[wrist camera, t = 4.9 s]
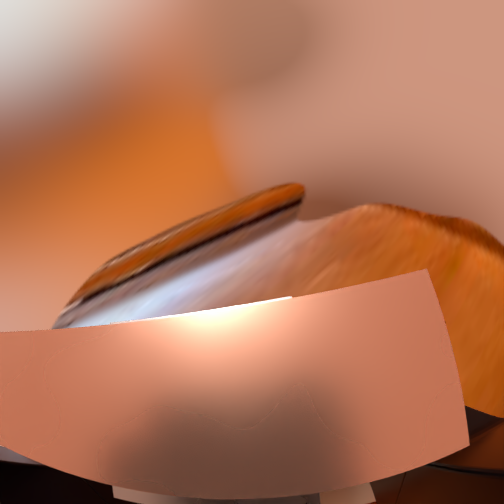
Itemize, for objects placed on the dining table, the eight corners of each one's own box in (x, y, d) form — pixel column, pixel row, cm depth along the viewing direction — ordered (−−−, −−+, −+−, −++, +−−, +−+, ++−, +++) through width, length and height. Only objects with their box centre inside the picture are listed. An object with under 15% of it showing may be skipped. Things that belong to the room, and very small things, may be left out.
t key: (334, 376, 14) (403, 212, 3) (343, 433, 13) (472, 507, 1) (224, 392, 15) (2, 294, 4) (229, 447, 13) (-9, 478, 2)
